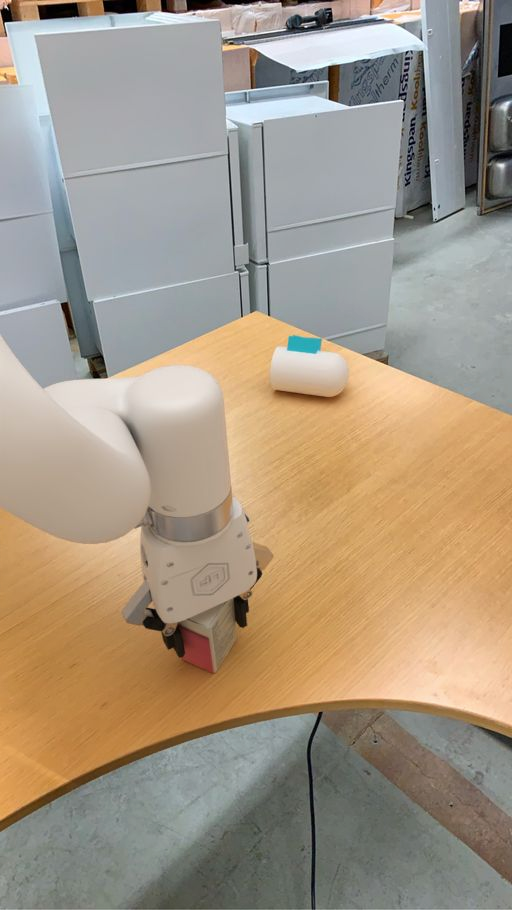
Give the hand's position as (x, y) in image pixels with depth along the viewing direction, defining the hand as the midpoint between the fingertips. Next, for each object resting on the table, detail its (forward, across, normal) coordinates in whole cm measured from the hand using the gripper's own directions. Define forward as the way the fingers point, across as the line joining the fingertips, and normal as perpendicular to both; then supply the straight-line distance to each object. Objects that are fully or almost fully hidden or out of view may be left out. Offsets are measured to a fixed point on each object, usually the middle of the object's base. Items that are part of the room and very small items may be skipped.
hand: (207, 631), depth 67 cm
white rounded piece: (+3, +38, +38) cm, 54 cm away
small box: (+3, 0, 0) cm, 3 cm away
